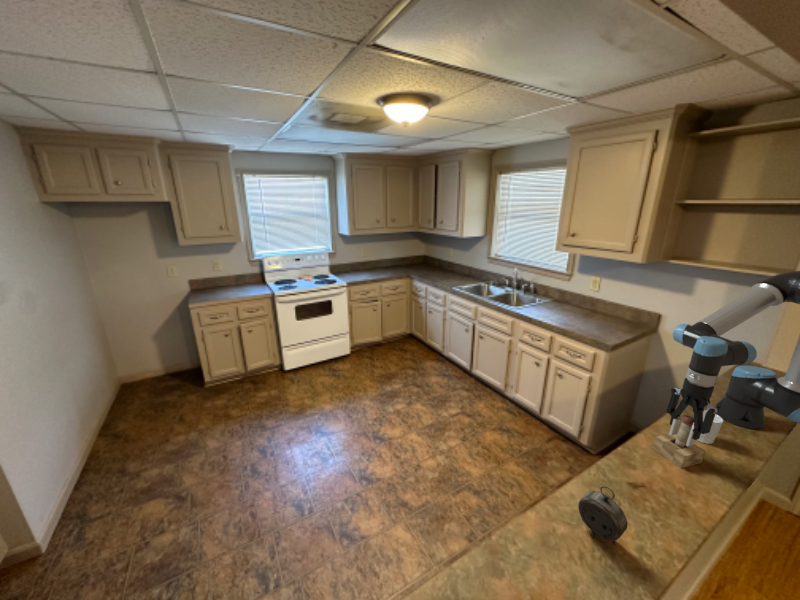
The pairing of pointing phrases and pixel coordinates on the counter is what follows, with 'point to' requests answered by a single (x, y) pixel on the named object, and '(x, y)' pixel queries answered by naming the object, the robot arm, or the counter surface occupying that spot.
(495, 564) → the counter surface
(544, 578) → the counter surface
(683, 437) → the brown-tipped rod
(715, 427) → the white cup
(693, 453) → the bead block
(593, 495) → the alarm clock
